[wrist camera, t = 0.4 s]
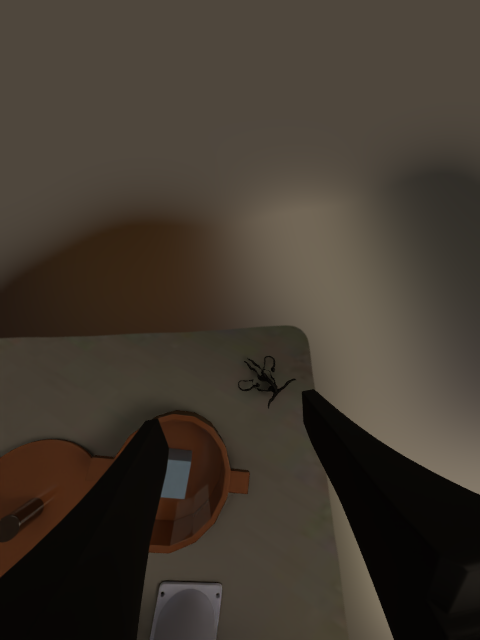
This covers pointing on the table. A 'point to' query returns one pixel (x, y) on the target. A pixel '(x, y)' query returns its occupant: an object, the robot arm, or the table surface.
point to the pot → (203, 482)
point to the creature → (265, 378)
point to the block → (177, 473)
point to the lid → (38, 493)
